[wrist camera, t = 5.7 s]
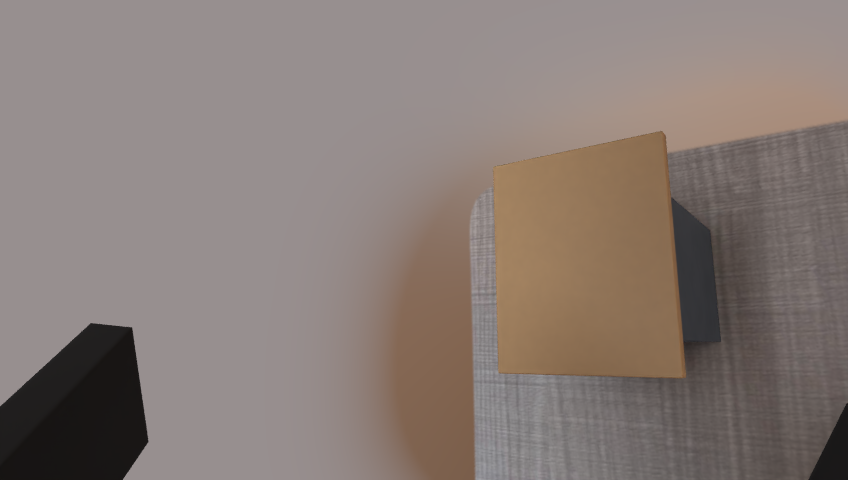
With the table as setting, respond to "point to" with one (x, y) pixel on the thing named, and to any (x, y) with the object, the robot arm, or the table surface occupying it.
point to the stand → (599, 264)
